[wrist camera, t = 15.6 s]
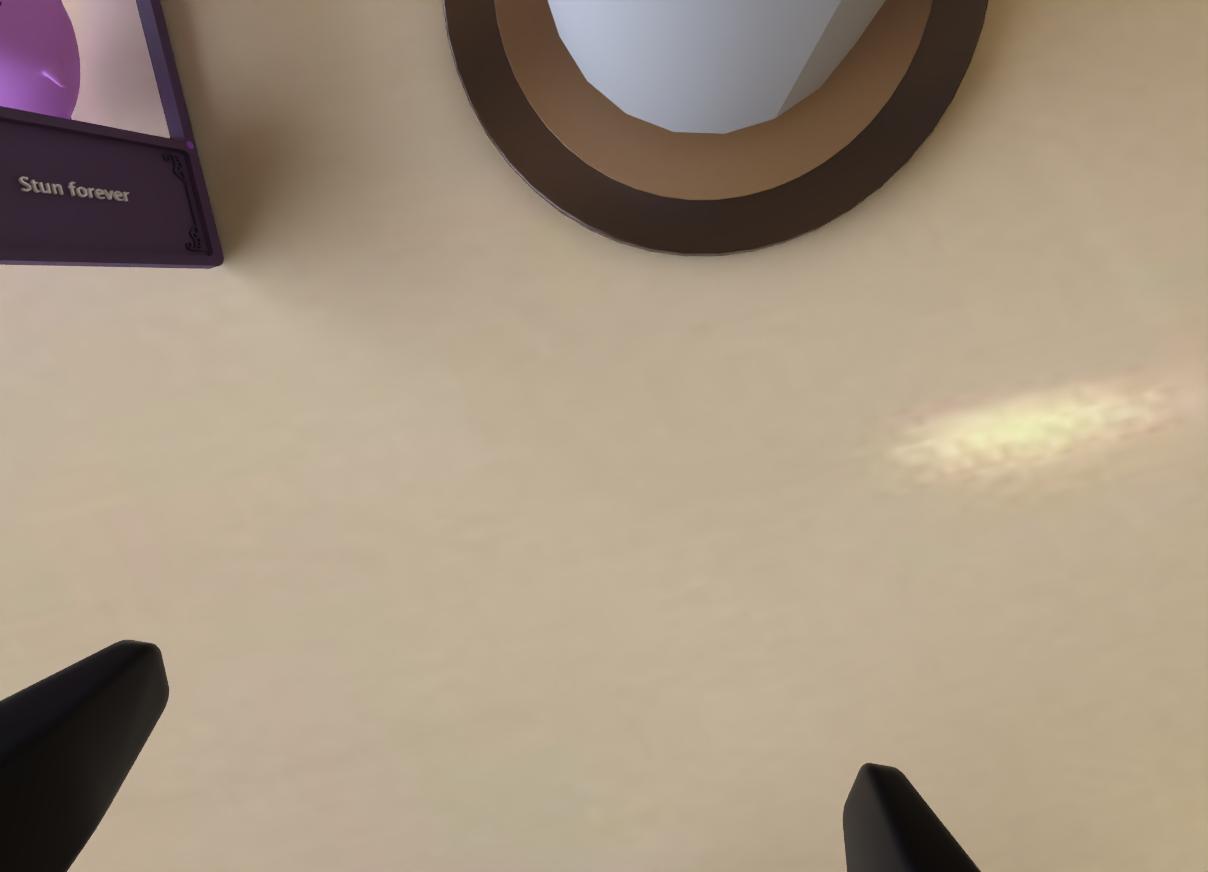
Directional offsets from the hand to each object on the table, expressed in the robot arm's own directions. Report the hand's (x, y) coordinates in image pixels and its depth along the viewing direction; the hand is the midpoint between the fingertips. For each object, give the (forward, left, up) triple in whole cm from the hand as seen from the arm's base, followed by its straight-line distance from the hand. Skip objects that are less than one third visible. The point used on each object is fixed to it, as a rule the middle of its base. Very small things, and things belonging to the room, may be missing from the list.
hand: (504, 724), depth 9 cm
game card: (+15, +7, -11) cm, 20 cm away
